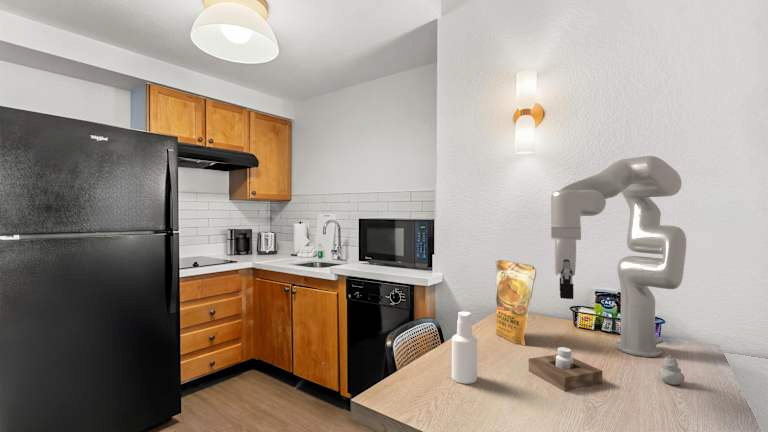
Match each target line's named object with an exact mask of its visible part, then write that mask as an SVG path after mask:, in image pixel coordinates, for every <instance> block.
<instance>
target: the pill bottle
mask: <svg viewBox="0 0 768 432" xmlns="http://www.w3.org/2000/svg"><path fill="white" fill-rule="evenodd" d="M557 354H559V355H557ZM557 354H556V355H557V356H556V366H557V367H559V368H561V369H563V370H569V369H573V358H574V357H573V358H572V349H570V348H568V347H565V346H561V347H557Z"/></svg>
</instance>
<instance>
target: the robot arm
mask: <svg viewBox="0 0 768 432" xmlns="http://www.w3.org/2000/svg"><path fill="white" fill-rule="evenodd" d="M681 188H682V178H681V176H680V174H679V172H678V171H677V170H676V169H674V168H673V166H671V165H670V164H668V163H667V162H666V161H664V160H663V159H661V158H660V157H657V156H655V155H645V156H637V157H629V158H623V159H620V160H617V161H615V162H613V163H612V164H611V165H609V166H608V167H606V168H605V169H603V170H602V171H600V172H599V173H597V174H593V175H591V176H588V177H585V178H583V179H581V180H578V181H575V182H571V183H570V184H567V185H565V186H564V187H562V188H561V189H559V190H555V191H553V192H552V193H551V195H550V202H551V203H550V220H551V221H550V227H551V228H550V236H551V237H550V239H551V240H555V241H554V242H555V243H554V274H555V275H556V276H558V275H559V274H560V277H559V292H560V293H559V297H560V299H564V300H565V299H566V300H573V299H574V283H573V276H575V275H576V268H577V267H576V266H577V265H576V264H577V241H581V240H582V217H594V216H597V215H599V214H601V213H603V211H604V210H605V209H606V204H607V202H606V201H607V200H608V199H611V198H615V197H616V196H618V195H620V194H622V196H623V198H624V199H625V201H626V203H627V205H628V209H629V212H630V215H629V220H628V221H629V222H628V229H627V235H626V236H627V237H626V245H627V248H628V249H629V250H630V251H632V252H634V253H640V254H650V255H653V254H654V255H661V256H663V257H662V258H661V257H652V256H640V255H639V256H638V255H629V256H624V257H622V258H621V259H620V260H619V261H618V262H617V266H616V267H617V268H616V269H617V275H618V280H619V285H620V289H619V290H620V340H618V341H616V342H615V343H614V345H615V348H616V349H617V350H619V351H621V352H623V353H626V354H628V355H629V354H630V355H633V356H638V357H644V358H658V357H660V356H661V355H662V350H661V349H660V348H659V347H657V345H658V344H663V343H664V339H663V337H660V336H659V337H656V298H655V296H654V294H653V292H652V291H651V289H650V288H657V289H666V290H676V289H678V288H679V287H680V286H681V285H682V281H683V277H684V272H685V271H684V270H685V262H686V261H685V260H686V255H687V253H686V252H687V237H686V233H685V231H684V230H683V229H682V228H681V227H679V226H676V225H665V224H664V225H661V216H662V213H661V210H660V207H658V205H657V203H655V202H654V201H653V200H652V199H651V198H660V197H661V198H662V197H664V198H665V197H672V196H675V195H677V194H678V193H680V190H681ZM649 287H650V288H649Z"/></svg>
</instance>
